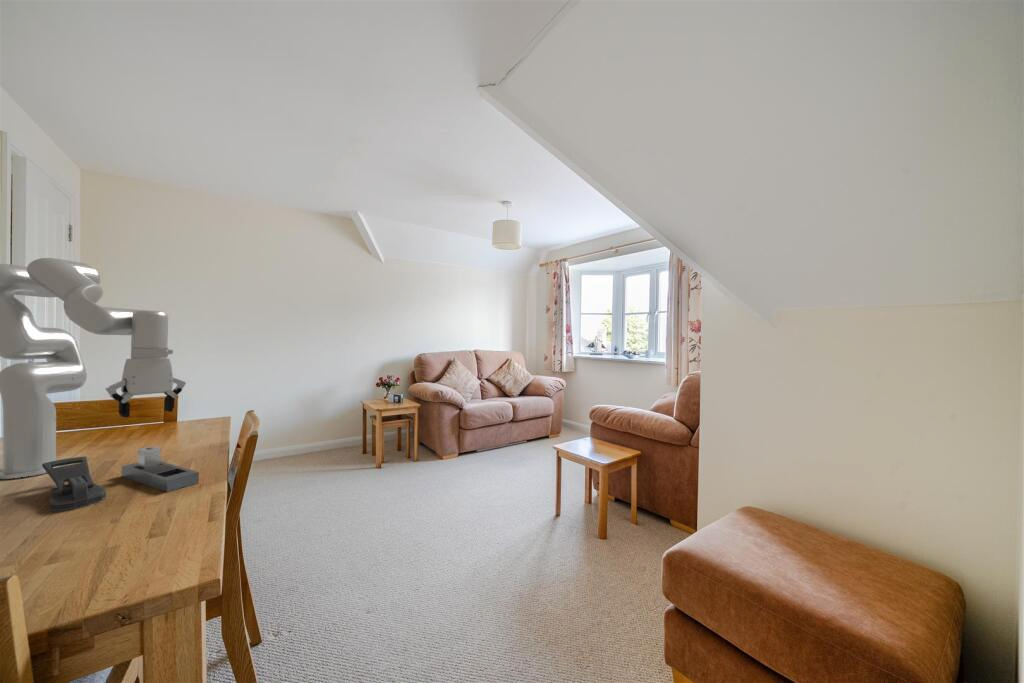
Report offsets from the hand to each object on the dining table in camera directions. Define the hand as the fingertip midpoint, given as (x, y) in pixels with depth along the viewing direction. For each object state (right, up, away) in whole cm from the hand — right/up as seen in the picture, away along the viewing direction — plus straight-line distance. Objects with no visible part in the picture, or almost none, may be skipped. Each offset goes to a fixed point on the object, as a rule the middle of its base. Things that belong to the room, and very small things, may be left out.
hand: (147, 413), depth 109 cm
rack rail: (+6, -18, -2) cm, 19 cm away
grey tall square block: (0, -18, 0) cm, 18 cm away
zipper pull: (-7, -18, -13) cm, 23 cm away
